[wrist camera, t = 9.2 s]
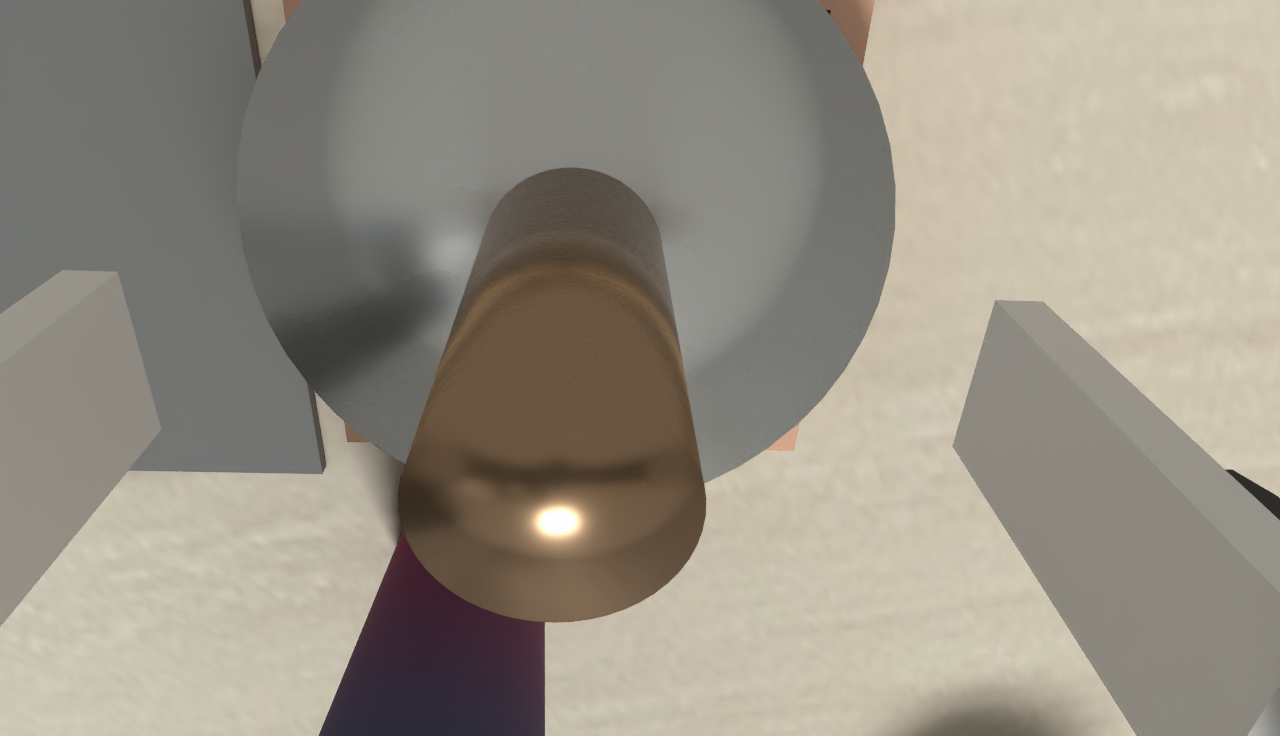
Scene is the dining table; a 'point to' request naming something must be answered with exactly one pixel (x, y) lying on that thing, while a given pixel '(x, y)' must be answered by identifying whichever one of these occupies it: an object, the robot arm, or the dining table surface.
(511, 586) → the lid
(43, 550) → the robot arm
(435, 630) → the cup
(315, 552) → the dining table surface
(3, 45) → the mat
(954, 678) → the dining table surface
